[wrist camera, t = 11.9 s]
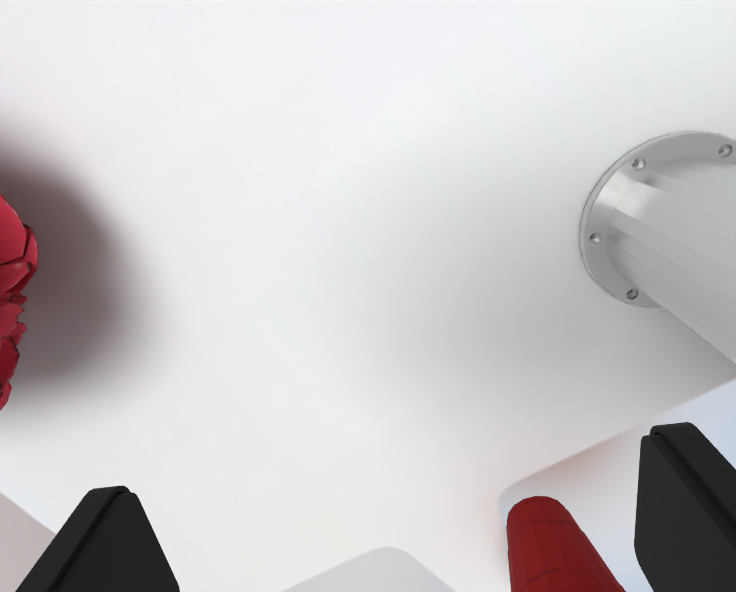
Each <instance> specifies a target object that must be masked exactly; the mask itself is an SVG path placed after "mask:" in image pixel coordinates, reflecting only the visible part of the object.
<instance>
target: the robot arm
mask: <svg viewBox="0 0 736 592" xmlns="http://www.w3.org/2000/svg"><path fill="white" fill-rule="evenodd" d="M719 149H720V150H719ZM635 160H636V164H635V165H634V166H632V164H633V162H634V161H635ZM592 234H594V236H593V237H592V238H590V236H591V235H592ZM579 241H580V248H581V254H582V258H583V260H584V263H585V265H586V268H587V270H588V271H589V273H590V274H591V276H592V277H593V279H594V280H595V281H596V282H597V283H598V284H599V285H600V286H601V287H602V288H603V289H604V290H605V291H607V292H608V293H610V294H611V295H612V296H614V297H615V298H617V299H619V300H621V301H623V302H625V303H628V304H631V305H636V306H640V307H648V308H664V309H666V310H667V311H668V312H670V313H671V314H672V315H673V316H675V317H676V318H677V319H678V320H680V321H681V322H682V323H684V324H685V325H686V326H687V327H689V328H690V329H691V330H692V331H694V332H695V333H696V334H698V335H699V336H700V337H701V338H703V339H704V340H705V341H707V342H708V343H709V344H710V345H712V346H713V347H714V348H715V349H717V350H718V351H719V352H721V353H722V354H723V355H724V356H726V357H727V358H728V359H729V360H731V361H732V362H733V363H735V364H736V140H733V139H730V138H727V137H725V136H722V135H718V134H712V133H706V132H679V133H673V134H667V135H664V136H661V137H658V138H656V139H653V140H650V141H648V142H646V143H644V144H642V145H640V146H638V147H637V148H635V149H633V150H631V151H630V152H629V153H627V154H626V155H625V156H623V157H622V158H621V159H620V160H618V161H617V162H616V163H615V164H614V165H613V166H612V167H611V168H610V169H609V170H608V171H607V172H606V173H605V174H604V175H603V176H602V178H601V179H600V181H599V182H598V184H597V185H596V187H595V188H594V190H593V191H592V193H591V195H590V197H589V199H588V202H587V204H586V206H585V208H584V212H583V216H582V220H581V224H580V239H579ZM634 548H635V553H636V557H637V560H638V563H639V565H640V567H641V569H642V571H643V573H644V574H645V576H646V578H647V580H648V582H649V584H650V586H651V587H652V589H653V591H654V592H736V469H735V468H734V467H733V466H732V465H731V464H730V463H729V462H728V461H727V460H726V459H725V458H724V457H723V455H722V454H721V453H720V452H719V451H718V450H717V449H716V448H715V447H714V446H713V445H712V443H710V441H709V440H708V439H707V438H706V437H705V436H704V435H703V434H702V433H701V432H700V431H699V429H698V428H697V427H696V426H694V425H693V424H692V423H689V422H684V423H676V424H667V425H657V426H653V427H652V429H651V430H650V435H647V436H643V437H642V439H641V448H640V463H639V479H638V493H637V508H636V523H635V539H634ZM16 592H180V589H179V585H178V583H177V581H176V579H175V576H174V574H173V572H172V570H171V568H170V566H169V563H168V561H167V559H166V557H165V555H164V553H163V550H162V548H161V546H160V544H159V542H158V540H157V537H156V535H155V533H154V531H153V529H152V526H151V524H150V522H149V520H148V518H147V516H146V513H145V511H144V509H143V507H142V505H141V503H140V500H139V498H138V496H137V495H136V494H135V493H131V492H130V491H129V489H128V488H127V487H125V486H114V487H105V488H96V489H92V490H90V491H89V492H88V493H87V494H86V495H85V496H84V498H83V499H82V500H81V502H80V503H79V505H78V506H77V507H76V509H75V510H74V511H73V513H72V514H71V516H70V517H69V518H68V520H67V521H66V523H65V524H64V525H63V527H62V528H61V529H60V531H59V532H58V534H57V535H56V536H55V538H54V539H53V540H52V542H51V543H50V545H49V546H48V547H47V549H46V550H45V551H44V553H43V554H42V556H41V557H40V558H39V560H38V561H37V563H36V564H35V565H34V567H33V568H32V570H31V571H30V572H29V574H28V575H27V576H26V578H25V579H24V580H23V582H22V583H21V585H20V586H19V587H18V589H17V590H16Z"/></svg>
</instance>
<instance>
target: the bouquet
mask: <svg viewBox="0 0 736 592" xmlns="http://www.w3.org/2000/svg"><path fill="white" fill-rule="evenodd" d="M37 251H38V249H37V245H36V241H35V237H34V233H33V229H32V228H30V227H28V226H27V225H25V224H23V223H22V222H21V221H20V219H19V217H18V215H17V213H16V212H15V211H14V209H13V208H12V207H11V206H10V205H9V204H8V203H7V202H6V200H5V199H4V197H3V196H2V195H1V194H0V410H1V409H2V408H3V407H4V405H5V404H6V403H7V401H8V398H9V395H10V391H11V388H12V387H11V385H10V384H9V382H8V381H9V380H10V379H11V377H12V376H13V374H14V371H15V368H16V365H17V362H18V359H19V356H20V354H19V352H18V350H17V348H16V346H17V344H18V343H19V342H20V340H21V336H22V333H24V331H25V330H26V329H27V327H26V326H25V324H24V323H19V322H18V321H17V319H18V316H17V315H19V314H20V313H22V312H23V311H25V310H24V309H23V308H22V307H20V305H21V304H23V303H24V302H25V301H26V300H27V297H26V296H22V295H21V292H20V291H21V290H22V289H23V288H24V287H25V285H26V284H27V283H28V281H29V280H30V278H31V277H32V276H33V274H34V273H35V272H36V270H37Z"/></svg>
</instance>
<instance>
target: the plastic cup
mask: <svg viewBox="0 0 736 592" xmlns="http://www.w3.org/2000/svg"><path fill="white" fill-rule="evenodd" d="M506 529H507V539H508V561H509V572H510V583H511V592H626V591H625V590H624V588H623V587H622V586H621V585H620V584H619V583H618V581H617V580H616V579H615V577H614V576H613V574H612V573H611V571H610V570H609V569H608V567H607V565H606V564H605V562H604V561H603V560H602V558H601V557H600V555H599V554H598V552H597V551H596V549H595V548H594V546H593V545H592V543H591V542H590V541H589V539H588V538H587V536H586V535H585V533H584V532H583V531H581V529H580V528H579V526H578V525H577V523H576V522H575V520H574V519H573V517H572V516H571V514H570V513H569V511H567V510H566V509H565V507H564V506H563V505H562V504H561V503H560V502H558V500H555V499H552V498H550V497H545V496H543V497H542V496H534V497H530V498H526V499H523V500H522V501H520V502H519V503H517V504H515V505H514V506H513V508H512V509H511V510H510V512H509V513H508V519H507V527H506Z"/></svg>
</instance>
